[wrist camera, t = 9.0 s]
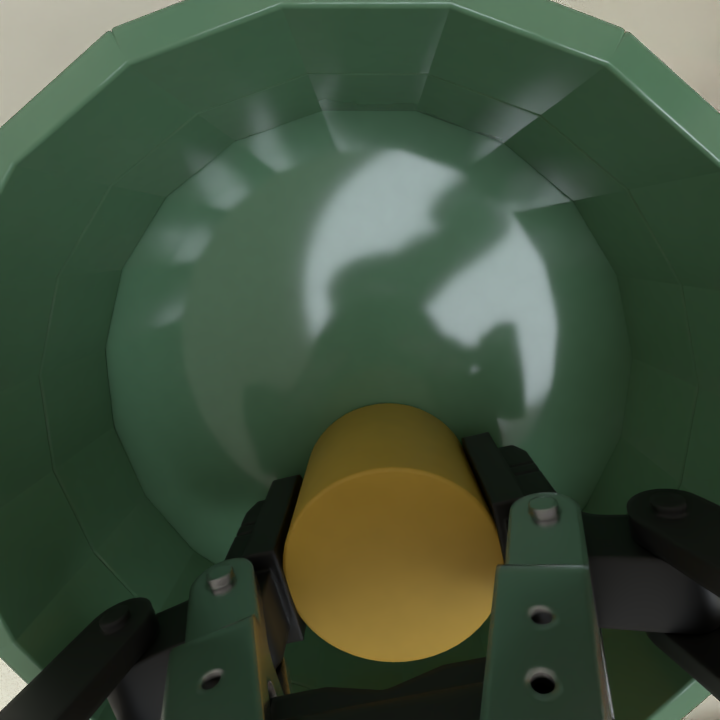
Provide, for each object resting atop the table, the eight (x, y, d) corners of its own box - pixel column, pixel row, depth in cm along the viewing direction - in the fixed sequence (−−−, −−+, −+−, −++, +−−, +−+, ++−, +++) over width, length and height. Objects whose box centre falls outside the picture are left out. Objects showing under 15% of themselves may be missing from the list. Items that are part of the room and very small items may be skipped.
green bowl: (300, -45, 12) (225, -337, 6) (753, 334, 13) (1048, 407, 8) (10, 433, 15) (-231, 562, 9) (411, 688, 16) (431, 936, 11)
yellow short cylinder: (371, 369, 13) (371, 423, 9) (502, 465, 14) (554, 553, 10) (275, 493, 14) (238, 588, 10) (402, 577, 15) (413, 699, 11)
